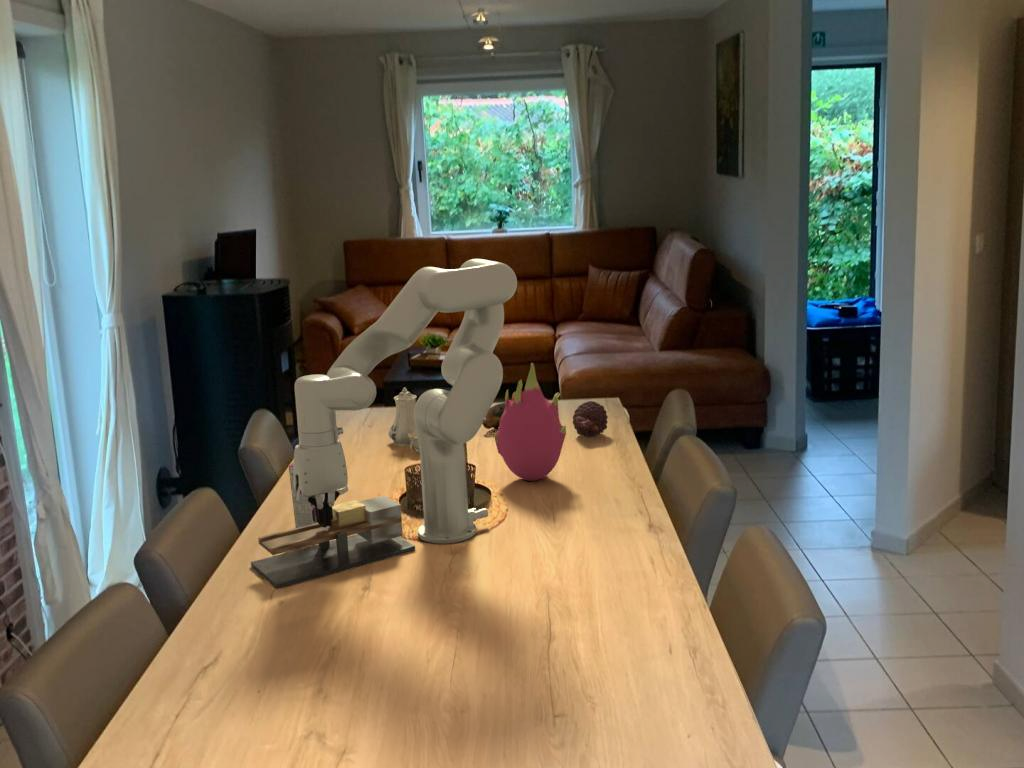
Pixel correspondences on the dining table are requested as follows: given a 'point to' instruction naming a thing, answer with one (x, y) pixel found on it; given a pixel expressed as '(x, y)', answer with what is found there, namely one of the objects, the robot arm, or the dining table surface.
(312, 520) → the candy bar box
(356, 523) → the brass block
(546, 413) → the pink dragon fruit
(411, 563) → the dining table surface
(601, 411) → the pine cone
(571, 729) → the dining table surface
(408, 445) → the chinaware
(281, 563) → the stand
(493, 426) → the decorative turtle
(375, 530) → the beam
